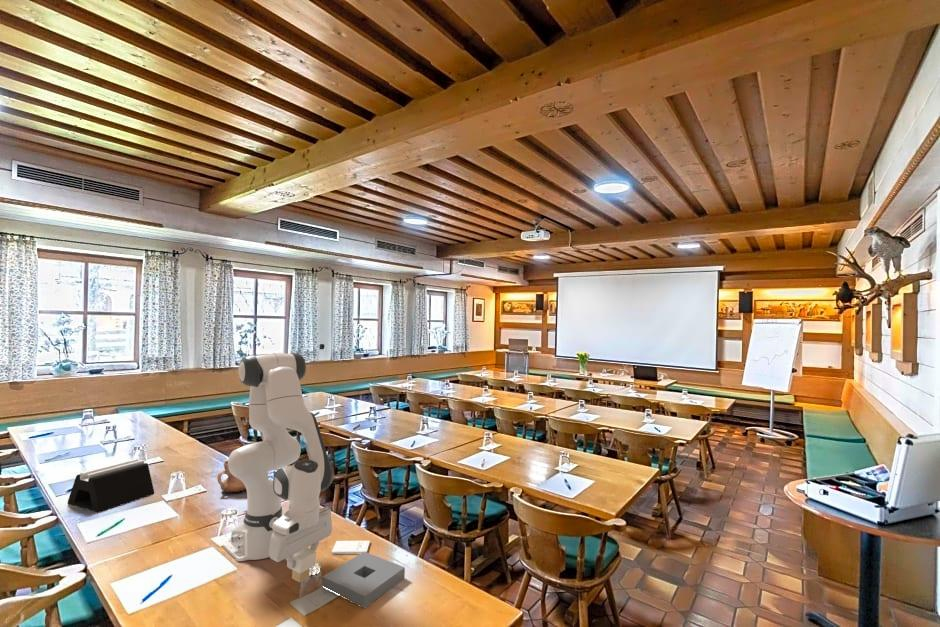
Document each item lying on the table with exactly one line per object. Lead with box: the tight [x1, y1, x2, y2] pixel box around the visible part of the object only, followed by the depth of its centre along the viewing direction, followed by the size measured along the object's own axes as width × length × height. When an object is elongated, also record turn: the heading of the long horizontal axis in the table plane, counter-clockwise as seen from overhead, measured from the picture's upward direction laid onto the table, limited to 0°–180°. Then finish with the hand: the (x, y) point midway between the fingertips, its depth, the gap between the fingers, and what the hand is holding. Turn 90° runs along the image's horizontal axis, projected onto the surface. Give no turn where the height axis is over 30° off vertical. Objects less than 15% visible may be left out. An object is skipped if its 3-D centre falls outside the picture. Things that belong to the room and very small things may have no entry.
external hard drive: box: [330, 540, 371, 555], centre depth 159 cm, size 2×8×12 cm
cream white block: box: [286, 547, 317, 583], centre depth 131 cm, size 6×6×8 cm
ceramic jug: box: [216, 460, 247, 494], centre depth 212 cm, size 18×14×14 cm
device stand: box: [67, 458, 155, 513], centre depth 199 cm, size 22×22×15 cm
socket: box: [321, 551, 406, 609], centre depth 138 cm, size 18×18×4 cm
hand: (301, 562), depth 131 cm, fingers closed on cream white block, 5 cm apart
